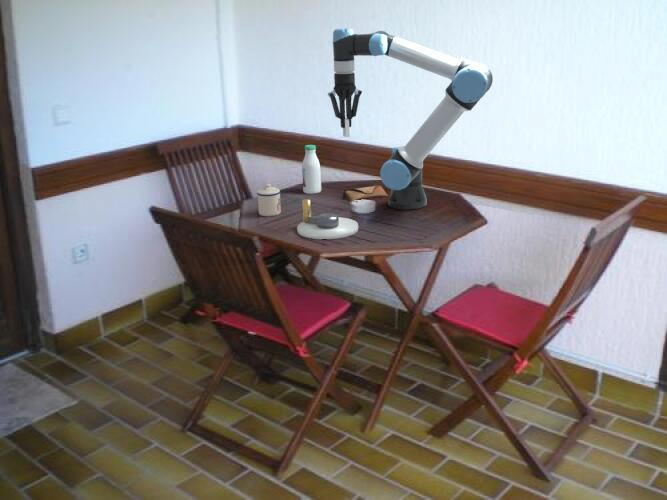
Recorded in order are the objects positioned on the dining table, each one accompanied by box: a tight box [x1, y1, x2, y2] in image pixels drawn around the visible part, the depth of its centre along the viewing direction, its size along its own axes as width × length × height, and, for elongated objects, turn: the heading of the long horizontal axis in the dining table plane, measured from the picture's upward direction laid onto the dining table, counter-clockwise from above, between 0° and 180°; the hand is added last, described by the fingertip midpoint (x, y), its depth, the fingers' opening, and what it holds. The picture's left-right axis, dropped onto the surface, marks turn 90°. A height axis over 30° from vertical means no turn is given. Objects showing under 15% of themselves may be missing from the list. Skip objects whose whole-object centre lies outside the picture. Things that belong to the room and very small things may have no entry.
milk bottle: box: [301, 144, 322, 195], centre depth 329 cm, size 8×8×20 cm
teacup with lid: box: [256, 183, 282, 217], centre depth 304 cm, size 12×9×12 cm
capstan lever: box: [301, 198, 339, 228], centre depth 281 cm, size 14×8×8 cm, turn 56°
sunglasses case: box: [342, 184, 390, 202], centre depth 322 cm, size 18×7×7 cm, turn 115°
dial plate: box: [296, 216, 359, 240], centre depth 281 cm, size 22×22×2 cm
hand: (346, 136), depth 293 cm, fingers closed
